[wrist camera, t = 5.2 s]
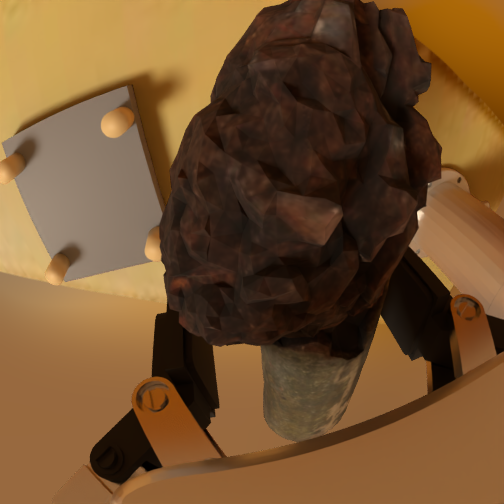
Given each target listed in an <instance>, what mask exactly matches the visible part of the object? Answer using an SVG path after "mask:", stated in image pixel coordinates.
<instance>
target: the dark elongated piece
mask: <svg viewBox="0 0 504 504" xmlns="http://www.w3.org/2000/svg"><path fill="white" fill-rule="evenodd" d="M430 81H431V63H428V62H424V60H423V59H422V58H421V57H420V56H419V55H418V52H417V49H416V45H415V41H414V36H413V33H412V30H411V26H410V24H409V20H408V17H407V15H406V14H405V12H404V10H403V9H402V8H393V9H392V10H391V9H383V10H379V9H378V8H377V6H376V4H375V3H374V2H369V3H363V2H361V1H360V0H288V1H286V2H284V3H282V4H280V5H275V6H270V7H265V8H263V9H262V10H261V11H260V12H259V13H258V14H257V15H256V17H255V19H254V20H253V22H252V23H251V25H250V26H249V28H248V29H247V30H246V32H245V33H244V35H243V36H242V38H241V39H240V40H239V41H238V43H237V44H236V45H235V47H234V48H233V49H232V50H231V52H230V53H229V54H228V55H227V57H226V59H225V61H224V64H223V66H222V68H221V70H220V72H219V74H218V76H217V79H216V82H215V85H214V88H213V90H212V93H211V104H209V105H208V106H206V107H205V108H204V109H202V110H201V111H199V112H198V113H197V114H195V115H194V117H193V118H192V120H191V122H190V123H189V125H188V127H187V128H186V130H185V133H184V136H183V139H182V142H181V145H180V148H179V151H178V154H177V156H176V158H175V160H174V162H173V164H172V166H171V168H170V178H171V188H172V191H171V194H170V197H169V200H168V203H167V205H166V207H165V210H164V212H163V214H162V218H161V221H160V224H159V238H160V240H161V242H160V246H159V247H160V251H161V254H162V255H161V261H162V263H163V264H164V265H165V269H166V272H165V273H164V283H165V289H166V294H167V298H168V303H169V307H170V309H172V310H175V311H178V312H179V323H180V324H181V325H182V326H183V327H184V328H185V329H187V330H188V331H189V332H190V333H192V334H194V335H196V336H198V337H199V336H202V337H203V338H204V340H205V341H206V342H207V343H208V344H211V345H215V346H220V347H221V346H223V345H227V346H228V345H233V344H243V343H245V344H249V345H255V346H261V353H262V369H263V378H264V392H263V410H264V418H265V420H266V422H267V424H268V425H269V427H270V428H271V429H272V430H273V431H274V432H275V433H276V434H278V435H280V436H281V437H283V438H285V439H287V440H292V441H296V442H301V441H305V440H309V439H312V438H316V437H319V436H322V435H323V434H325V433H326V432H327V431H328V430H330V429H331V428H333V427H334V426H335V425H336V424H337V423H338V422H339V421H340V420H341V418H342V416H343V414H344V412H345V411H346V408H347V406H348V403H349V401H350V398H351V396H352V394H353V391H354V389H355V387H356V384H357V382H358V379H359V376H360V373H361V370H362V368H363V365H364V363H365V360H366V358H367V355H368V352H369V349H370V346H371V342H372V340H373V337H374V334H375V331H376V327H377V324H378V321H379V317H380V314H381V311H382V308H383V304H384V301H385V298H386V294H387V290H388V285H389V280H390V277H391V275H392V273H393V271H394V270H395V268H396V267H397V265H398V264H399V262H400V260H401V259H402V257H403V255H404V253H405V252H406V250H407V248H408V246H409V245H410V243H411V241H412V239H413V238H414V236H415V234H416V232H417V230H418V229H419V225H418V215H417V212H418V211H419V210H420V209H421V208H423V207H426V201H427V191H428V183H431V182H434V181H436V180H439V179H442V177H441V152H442V147H441V146H440V144H439V143H438V142H437V140H436V139H435V138H434V136H433V135H432V132H431V130H430V127H429V124H428V122H427V120H426V119H425V118H424V117H423V116H422V115H421V114H420V113H419V112H418V111H417V110H416V109H414V108H413V106H414V105H415V104H416V103H418V95H420V94H422V93H424V92H426V91H427V90H428V88H429V86H430Z"/></svg>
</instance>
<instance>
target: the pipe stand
mask: <svg viewBox="0 0 504 504" xmlns="http://www.w3.org/2000/svg"><path fill="white" fill-rule="evenodd" d="M2 145H3V148H4V151H5V154H6V157H7V158H6V159H4V160H3V161H1V162H0V183H1V184H7V183H9V182H10V181H11V180H13V179H15V182H16V184H17V187H18V189H19V192H20V194H21V197H22V199H23V201H24V204H25V206H26V208H27V210H28V213H29V215H30V217H31V219H32V221H33V223H34V225H35V228H36V230H37V232H38V234H39V236H40V238H41V240H42V242H43V243H44V245H45V247H46V249H47V251H48V253H49V255H50V257H51V259H52V261H51V262H50V264H49V266H48V268H47V270H46V271H45V277H46V279H47V281H48V282H49V283H51V284H53V285H60V284H61V283H62V281H63V280H64V281H65V282H68V281H72V280H76V279H80V278H84V277H89V276H93V275H97V274H101V273H105V272H110V271H114V270H118V269H122V268H127V267H131V266H135V265H139V264H144V263H148V262H152V261H156V262H158V261H161V255H162V254H161V251H160V247H159V246H160V242H161V240H160V238H159V224H160V221H161V218H162V214H163V212H164V210H165V204H164V201H163V198H162V195H161V191H160V188H159V185H158V181H157V178H156V174H155V171H154V167H153V164H152V160H151V157H150V153H149V150H148V146H147V142H146V139H145V135H144V131H143V127H142V123H141V119H140V115H139V111H138V107H137V103H136V99H135V95H134V90H133V86H132V85H128V86H125V87H122V88H119V89H116V90H113V91H110V92H107V93H105V94H102V95H99V96H97V97H94V98H91V99H89V100H86V101H84V102H82V103H79V104H77V105H75V106H72V107H70V108H68V109H65V110H63V111H61V112H59V113H57V114H55V115H52V116H50V117H48V118H46V119H44V120H42V121H40V122H38V123H36V124H34V125H32V126H31V127H29V128H27V129H25V130H23V131H21V132H20V133H18V134H16V135H14V136H13V137H11V138H9V139H7V140H6V141H4V142H2Z"/></svg>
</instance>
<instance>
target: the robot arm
mask: <svg viewBox="0 0 504 504" xmlns="http://www.w3.org/2000/svg"><path fill="white" fill-rule="evenodd" d="M441 177H442V179H439V180H436V181H434V182H431V183H428V191H427V201H426V207H423V208H421V209H420V210H419V211H418V212H417V215H418V225H419V229H418V230H417V232H416V234H415V236H414V238H413V239H412V241H411V243H410V245H409V246H408V248H407V250H406V252H405V253H404V255H403V257H402V259H401V260H400V262H399V264H398V265H397V267H396V268H395V270H394V271H393V273H392V275H391V277H390V280H389V285H388V290H387V294H386V298H385V301H384V304H383V308H382V311H381V314H380V315H381V316H382V318H383V319H384V321H385V323H386V324H387V326H388V327H389V329H390V331H391V332H392V334H393V336H394V338H395V339H396V341H397V343H398V344H399V346H400V348H401V350H402V351H403V353H404V354H405V355H409V357H410V359H411V360H412V361H413V360H415V359H417V358H419V357H422V356H423V357H424V359H425V360H426V371H427V388H428V394H427V395H425V396H423V397H421V398H419V399H417V400H415V401H413V402H410V403H408V404H406V405H404V406H402V407H399V408H397V409H394V410H392V411H390V412H387V413H385V414H383V415H380V416H378V417H375V418H373V419H370V420H367V421H365V422H362V423H359V424H356V425H354V426H351V427H348V428H345V429H342V430H339V431H336V432H333V433H329V434H326V435H323V436H319V437H316V438H312V439H309V440H305V441H301V442H297V443H294V444H290V445H285V446H281V447H277V448H273V449H268V450H263V451H258V452H252V453H247V454H242V455H236V456H230V457H227V456H226V455H225V454H224V452H223V451H222V450H221V448H220V447H219V446H218V444H217V443H216V442H215V440H214V439H213V437H212V436H211V435H210V433H209V432H208V430H207V429H206V428H207V427H208V425H209V424H210V423H211V420H210V418H211V417H215V409H217V408H219V398H218V390H217V382H216V373H215V365H214V356H213V345H211V344H208V343H207V342H206V341H205V340H204V338H203V337H202V336H199V337H198V336H196V335H194V334H192V333H190V332H189V331H188V330H187V329H185V328H184V327H183V326H182V325H181V324H180V323H179V312H178V311H175V310H172V309H170V307H169V303H168V298H167V312H166V313H161V314H157V316H156V319H155V331H154V345H153V361H152V377H150V378H147V379H145V380H143V381H142V382H140V383H139V384H138V385H137V386H136V388H135V389H134V391H133V393H132V398H131V403H132V407H133V408H132V409H131V411H129V413H127V414H126V415H125V416H124V417H123V418H122V419H121V420H120V421H119V422H118V423H117V424H116V425H115V426H114V427H113V428H112V429H111V430H110V431H109V432H108V433H107V434H106V435H105V436H104V437H103V438H102V439H101V440H100V441H99V442H98V443H97V444H96V445H95V446H94V447H93V449H92V451H91V454H90V463H89V464H88V465H87V466H86V465H82V466H81V468H80V469H79V470H78V471H77V472H76V473H75V474H74V475H73V476H72V477H71V478H70V479H69V480H68V481H67V483H65V484H64V485H63V486H62V487H61V488H60V490H59V491H58V492H57V493H56V494H55V495H54V497H53V501H52V504H504V219H503V218H502V217H500V216H499V215H498V214H497V213H495V212H494V211H493V210H491V209H490V205H489V203H488V201H482V202H480V201H479V200H478V199H476V198H475V197H473V196H472V195H471V194H470V190H469V186H468V183H467V181H466V179H465V178H464V177H463V175H461V174H460V173H459V172H457V171H455V170H453V169H451V168H441ZM422 257H429V258H430V259H431V260H432V261H433V262H434V263H435V264H436V265H437V266H438V267H439V268H440V269H441V271H442V272H443V273H444V274H445V275H446V276H447V277H448V278H449V279H450V281H451V282H452V283H453V284H454V285H455V286H456V287H457V289H458V290H459V291H460V292H461V293H462V294H459V295H456V296H455V297H454V298H452V296H451V295H450V292H449V290H448V289H447V288H446V287H445V286H444V284H443V283H442V282H441V281H440V280H439V279H438V277H437V276H436V275H435V274H434V273H433V272H432V271H431V270H430V268H429V267H428V266H427V265H426V264H425V263H424V262H423V261H422V260H421V258H422Z"/></svg>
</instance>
